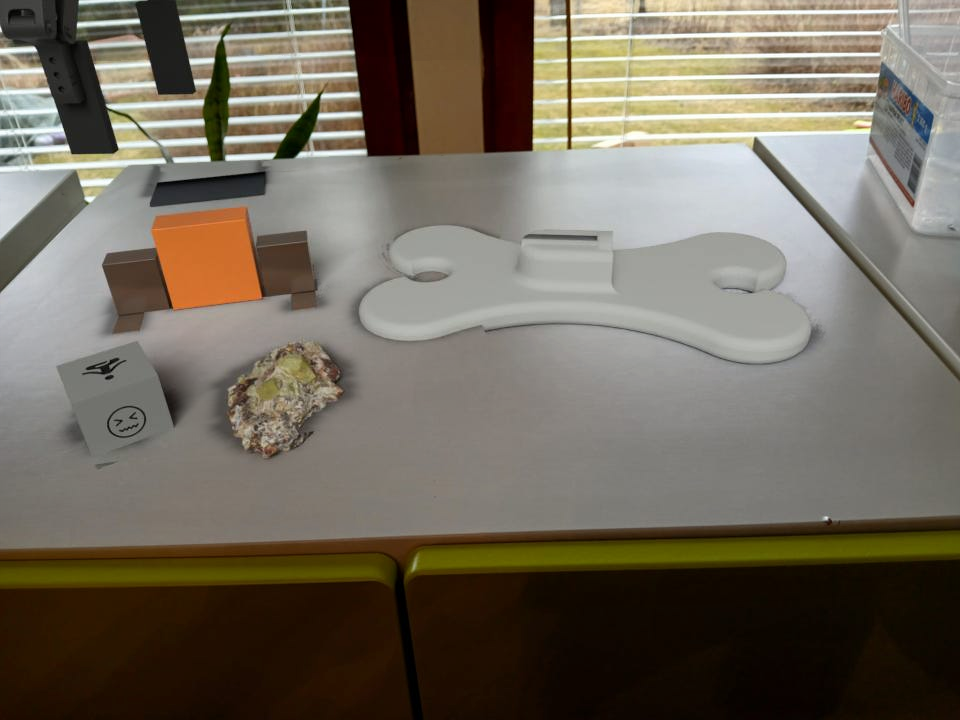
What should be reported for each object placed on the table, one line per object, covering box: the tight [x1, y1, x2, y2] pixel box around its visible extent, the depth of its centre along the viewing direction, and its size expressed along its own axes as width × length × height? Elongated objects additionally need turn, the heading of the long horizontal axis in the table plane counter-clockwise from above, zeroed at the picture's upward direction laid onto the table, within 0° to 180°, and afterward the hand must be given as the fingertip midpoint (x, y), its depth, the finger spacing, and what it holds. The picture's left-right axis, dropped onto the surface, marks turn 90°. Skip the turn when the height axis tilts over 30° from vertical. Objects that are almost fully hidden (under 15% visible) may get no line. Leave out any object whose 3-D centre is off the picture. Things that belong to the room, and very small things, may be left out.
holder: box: [358, 224, 813, 365], centre depth 64 cm, size 19×34×5 cm, turn 82°
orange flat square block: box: [150, 205, 264, 311], centre depth 63 cm, size 3×7×7 cm, turn 102°
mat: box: [149, 170, 266, 207], centre depth 91 cm, size 12×12×1 cm
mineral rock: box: [226, 339, 344, 460], centre depth 53 cm, size 11×4×8 cm
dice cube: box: [55, 340, 175, 470], centre depth 51 cm, size 5×5×5 cm
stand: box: [101, 230, 319, 335], centre depth 64 cm, size 8×16×6 cm, turn 102°
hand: (140, 120), depth 55 cm, fingers open, 13 cm apart
